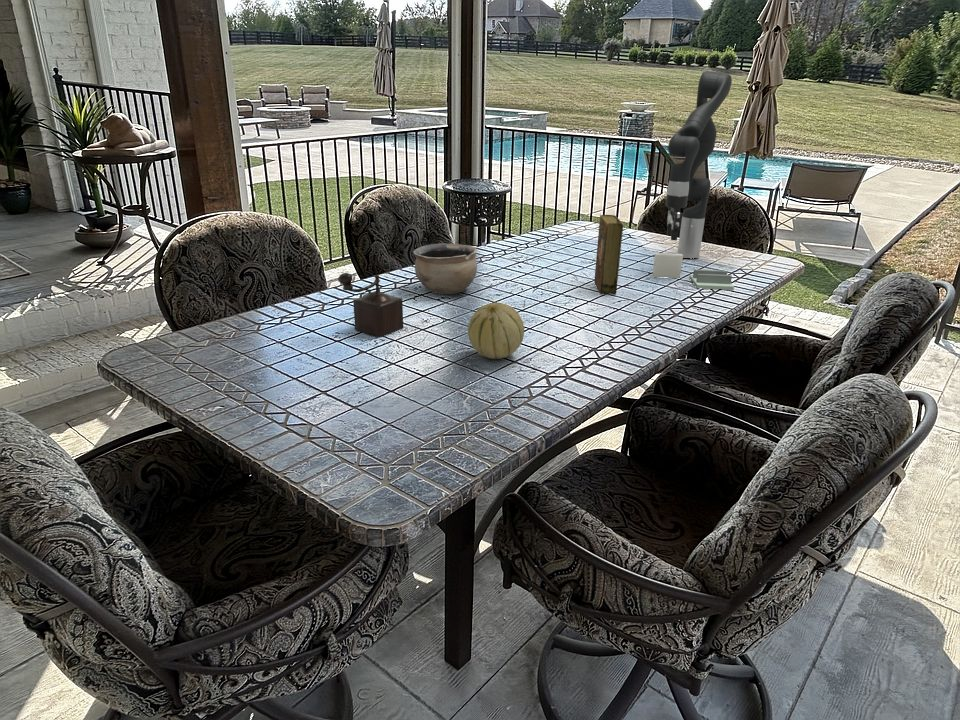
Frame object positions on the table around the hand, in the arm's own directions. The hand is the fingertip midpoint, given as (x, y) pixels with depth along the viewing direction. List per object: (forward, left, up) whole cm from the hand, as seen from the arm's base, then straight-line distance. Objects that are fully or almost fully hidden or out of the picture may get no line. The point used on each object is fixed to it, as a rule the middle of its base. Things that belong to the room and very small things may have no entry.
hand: (671, 237), depth 240 cm
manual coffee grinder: (+75, -96, -16) cm, 123 cm away
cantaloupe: (+89, -59, -15) cm, 108 cm away
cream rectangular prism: (0, 0, -15) cm, 15 cm away
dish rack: (+8, +15, -15) cm, 23 cm away
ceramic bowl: (+32, -81, -16) cm, 89 cm away
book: (+20, -25, -15) cm, 36 cm away
